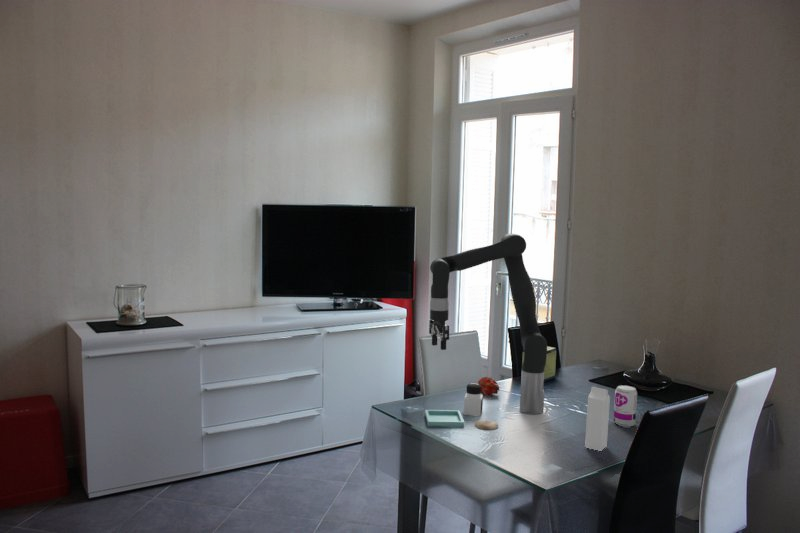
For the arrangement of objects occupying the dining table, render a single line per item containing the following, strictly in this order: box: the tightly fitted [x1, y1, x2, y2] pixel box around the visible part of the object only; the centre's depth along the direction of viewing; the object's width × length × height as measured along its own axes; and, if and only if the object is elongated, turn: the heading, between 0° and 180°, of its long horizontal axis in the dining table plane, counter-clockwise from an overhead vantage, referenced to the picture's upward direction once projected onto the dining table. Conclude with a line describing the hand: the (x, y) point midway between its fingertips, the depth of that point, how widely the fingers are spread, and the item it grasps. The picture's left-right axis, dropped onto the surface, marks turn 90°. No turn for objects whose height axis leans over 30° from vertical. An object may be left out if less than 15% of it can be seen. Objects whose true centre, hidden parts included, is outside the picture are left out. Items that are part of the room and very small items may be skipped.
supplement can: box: [613, 384, 638, 427], centre depth 263 cm, size 8×8×15 cm
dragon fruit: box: [477, 376, 500, 397], centre depth 298 cm, size 8×8×12 cm
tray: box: [424, 409, 465, 428], centre depth 262 cm, size 14×14×2 cm
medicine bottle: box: [463, 382, 484, 417], centre depth 272 cm, size 7×7×12 cm
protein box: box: [521, 345, 557, 383], centre depth 326 cm, size 10×16×16 cm
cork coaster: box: [474, 420, 499, 431], centre depth 257 cm, size 9×9×1 cm
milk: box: [584, 386, 611, 452], centre depth 237 cm, size 6×6×22 cm
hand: (438, 347), depth 271 cm, fingers open, 8 cm apart
